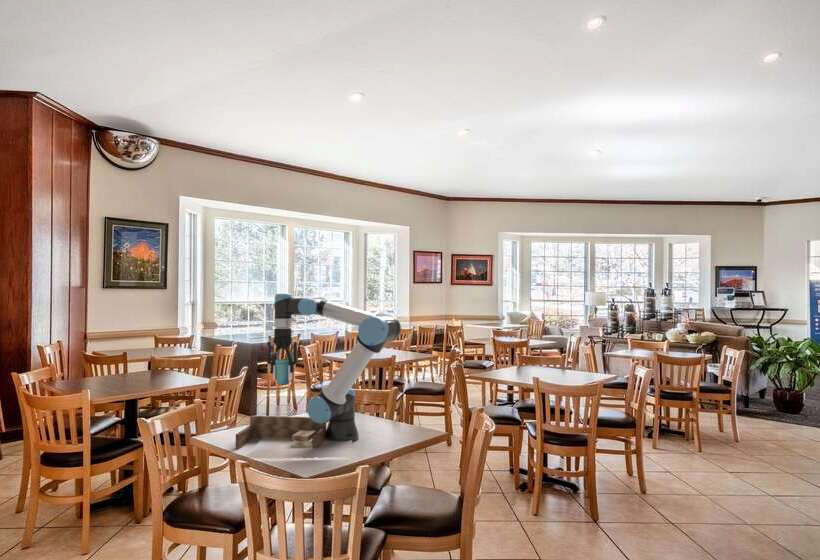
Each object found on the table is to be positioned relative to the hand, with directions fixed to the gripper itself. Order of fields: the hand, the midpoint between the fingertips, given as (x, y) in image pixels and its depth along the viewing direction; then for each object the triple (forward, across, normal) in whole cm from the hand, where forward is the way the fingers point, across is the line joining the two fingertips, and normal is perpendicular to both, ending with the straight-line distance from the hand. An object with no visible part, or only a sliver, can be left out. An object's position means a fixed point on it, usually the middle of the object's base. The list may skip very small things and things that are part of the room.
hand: (282, 379), depth 242 cm
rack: (+27, -2, +6) cm, 28 cm away
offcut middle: (+26, -12, +7) cm, 29 cm away
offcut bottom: (+28, -12, +7) cm, 31 cm away
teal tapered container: (+2, 0, 0) cm, 2 cm away
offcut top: (+24, -12, +7) cm, 28 cm away
